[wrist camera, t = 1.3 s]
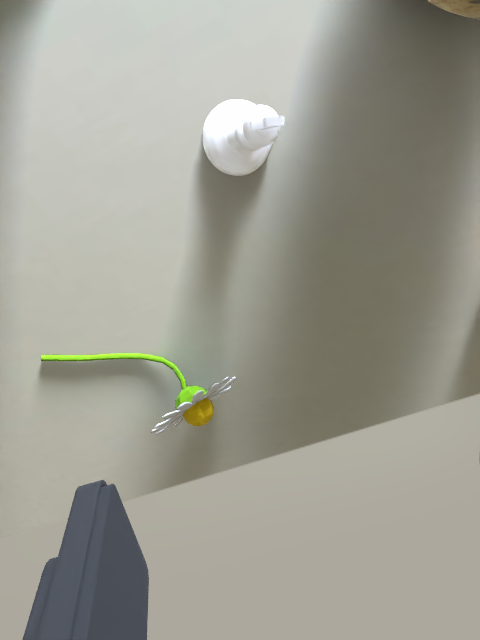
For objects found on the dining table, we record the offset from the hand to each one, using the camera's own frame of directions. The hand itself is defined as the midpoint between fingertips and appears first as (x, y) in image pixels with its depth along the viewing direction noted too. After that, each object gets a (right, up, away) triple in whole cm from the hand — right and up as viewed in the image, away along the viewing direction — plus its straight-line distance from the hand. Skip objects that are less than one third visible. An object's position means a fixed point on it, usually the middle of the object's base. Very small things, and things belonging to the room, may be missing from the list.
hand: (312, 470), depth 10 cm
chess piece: (-2, +17, +19) cm, 25 cm away
